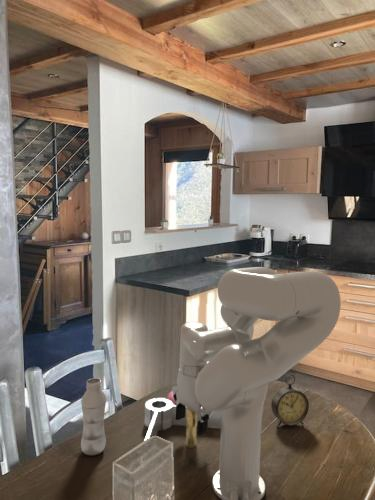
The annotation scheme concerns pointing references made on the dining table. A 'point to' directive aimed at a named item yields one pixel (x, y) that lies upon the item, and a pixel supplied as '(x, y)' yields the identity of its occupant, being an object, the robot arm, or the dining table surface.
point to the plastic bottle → (93, 418)
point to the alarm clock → (290, 405)
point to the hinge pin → (191, 428)
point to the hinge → (170, 416)
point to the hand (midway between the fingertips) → (191, 425)
